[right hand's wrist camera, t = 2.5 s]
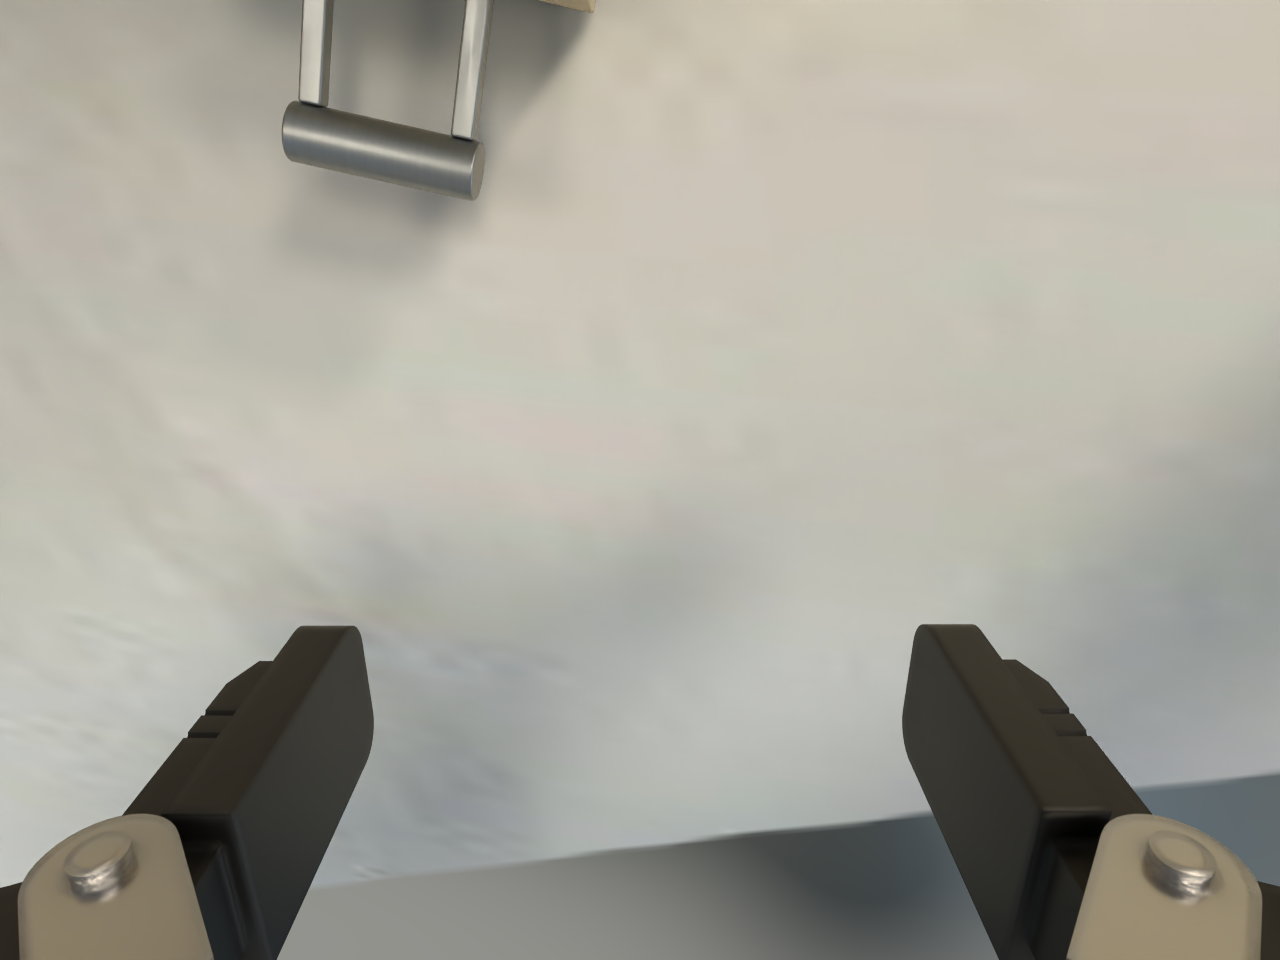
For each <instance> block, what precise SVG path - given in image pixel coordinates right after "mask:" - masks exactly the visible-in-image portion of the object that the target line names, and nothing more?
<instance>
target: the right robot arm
mask: <svg viewBox="0 0 1280 960" xmlns="http://www.w3.org/2000/svg"><path fill="white" fill-rule="evenodd" d="M902 728H903V738H904V744H905V748H906V752H907V755H908V758H909V761H910V763H911V765H912V767H913V770H914V772H915V774H916V776H917V778H918V781H919V783H920V785H921V787H922V790H923V792H924V794H925V796H926V798H927V801H928V803H929V805H930V807H931V809H932V812H933V814H934V816H935V818H936V821H937V823H938V825H939V827H940V829H941V832H942V834H943V836H944V838H945V841H946V843H947V845H948V847H949V849H950V852H951V854H952V856H953V858H954V861H955V863H956V865H957V867H958V869H959V872H960V874H961V876H962V878H963V881H964V883H965V885H966V887H967V889H968V892H969V894H970V896H971V898H972V901H973V903H974V905H975V907H976V909H977V911H978V914H979V916H980V918H981V921H982V923H983V925H984V927H985V929H986V932H987V934H988V936H989V938H990V940H991V943H992V945H993V947H994V949H995V952H996V954H997V956H998V958H999V960H1280V887H1279V886H1275V885H1271V884H1266V883H1263V882H1259V881H1256V879H1255V877H1254V876H1253V874H1252V872H1251V871H1250V870H1249V869H1248V868H1247V866H1246V865H1245V864H1244V863H1243V862H1242V861H1241V860H1240V859H1239V858H1238V857H1237V856H1236V855H1235V854H1234V853H1233V852H1232V851H1230V850H1229V849H1228V848H1226V847H1225V846H1224V845H1223V844H1221V843H1220V842H1218V841H1217V840H1215V839H1214V838H1212V837H1211V836H1209V835H1207V834H1205V833H1203V832H1201V831H1200V830H1198V829H1196V828H1193V827H1191V826H1189V825H1187V824H1184V823H1181V822H1178V821H1176V820H1173V819H1169V818H1165V817H1161V816H1156V815H1152V813H1151V812H1150V811H1149V810H1148V808H1147V807H1146V806H1145V804H1144V803H1143V802H1142V801H1141V799H1140V798H1139V797H1138V796H1137V794H1136V793H1135V792H1134V790H1133V789H1132V788H1131V787H1130V785H1129V784H1128V783H1127V782H1126V780H1125V779H1124V778H1123V776H1122V775H1121V774H1120V773H1119V771H1118V770H1117V769H1116V768H1115V766H1114V765H1113V764H1112V762H1111V761H1110V760H1109V759H1108V757H1107V756H1106V755H1105V754H1104V752H1103V751H1102V750H1101V748H1100V747H1099V746H1098V745H1097V743H1096V742H1095V741H1094V740H1093V738H1092V737H1091V736H1087V734H1086V729H1085V728H1084V727H1083V726H1082V724H1081V723H1080V722H1079V720H1078V719H1077V718H1076V717H1075V715H1074V714H1070V713H1069V708H1068V706H1067V705H1066V704H1065V703H1064V701H1063V700H1062V699H1061V698H1060V696H1059V695H1058V694H1057V692H1056V691H1055V690H1054V689H1053V687H1052V686H1051V685H1050V684H1049V682H1048V681H1046V680H1045V679H1043V678H1042V677H1040V676H1039V675H1037V674H1036V673H1035V672H1033V671H1032V670H1030V669H1029V668H1027V667H1026V666H1024V665H1023V664H1022V663H1020V662H1019V661H1017V660H1002V659H1001V657H1000V656H999V655H998V653H997V652H996V650H995V649H994V648H993V646H992V645H991V644H990V642H989V641H988V639H987V638H986V637H985V635H984V634H983V633H982V631H981V630H980V629H979V628H978V627H977V626H976V625H973V624H923V625H920V626H919V627H918V628H917V630H916V633H915V636H914V641H913V648H912V654H911V661H910V667H909V674H908V681H907V687H906V694H905V701H904V707H903V716H902ZM373 730H374V717H373V709H372V702H371V696H370V689H369V683H368V676H367V670H366V663H365V657H364V650H363V643H362V638H361V635H360V632H359V630H358V629H357V627H355V626H301V627H299V628H297V630H296V631H295V632H294V633H293V635H292V636H291V637H290V639H289V640H288V641H287V643H286V644H285V645H284V647H283V648H282V649H281V651H280V652H279V654H278V655H277V656H276V658H275V659H274V660H273V661H259V662H257V663H256V664H255V665H253V666H252V667H250V668H249V669H247V670H246V671H244V672H243V673H241V674H240V675H239V676H237V677H236V678H234V679H233V680H231V681H230V682H228V683H227V684H226V685H225V686H224V688H223V689H222V690H221V691H220V693H219V694H218V695H217V696H216V698H215V699H214V700H213V702H212V703H211V704H210V705H209V707H208V708H207V709H206V713H205V716H201V717H200V718H199V719H198V720H197V722H196V723H195V724H194V725H193V727H192V728H191V729H190V731H189V732H188V737H187V738H183V739H182V741H181V742H180V743H179V744H178V746H177V747H176V748H175V749H174V751H173V752H172V753H171V755H170V756H169V757H168V758H167V760H166V761H165V762H164V763H163V765H162V766H161V767H160V768H159V770H158V771H157V772H156V773H155V775H154V776H153V777H152V778H151V780H150V781H149V782H148V784H147V785H146V786H145V787H144V789H143V790H142V791H141V792H140V794H139V795H138V796H137V797H136V799H135V800H134V801H133V802H132V804H131V805H130V806H129V807H128V809H127V810H126V811H125V813H124V814H123V815H122V816H119V817H115V818H111V819H107V820H104V821H101V822H99V823H96V824H93V825H91V826H89V827H87V828H84V829H82V830H80V831H79V832H77V833H75V834H73V835H71V836H69V837H68V838H66V839H65V840H63V841H62V842H60V843H59V844H57V845H56V846H55V847H53V848H52V849H51V850H50V851H48V852H47V853H46V854H45V855H44V856H43V857H42V858H41V859H40V860H39V861H38V862H37V863H36V864H35V865H34V866H33V868H32V869H31V870H30V871H29V872H28V874H27V876H26V877H25V879H24V881H23V882H21V883H17V884H14V885H10V886H6V887H2V888H0V960H277V957H278V955H279V953H280V951H281V949H282V946H283V944H284V942H285V940H286V938H287V935H288V933H289V931H290V929H291V927H292V924H293V922H294V920H295V918H296V916H297V913H298V911H299V909H300V907H301V905H302V903H303V900H304V898H305V896H306V894H307V892H308V889H309V887H310V885H311V883H312V881H313V878H314V876H315V874H316V872H317V870H318V867H319V865H320V863H321V861H322V859H323V856H324V854H325V852H326V850H327V848H328V846H329V843H330V841H331V839H332V837H333V835H334V832H335V830H336V828H337V826H338V824H339V821H340V819H341V817H342V815H343V813H344V810H345V808H346V806H347V804H348V802H349V799H350V797H351V795H352V793H353V791H354V788H355V786H356V784H357V782H358V780H359V778H360V775H361V773H362V771H363V769H364V767H365V764H366V762H367V760H368V757H369V754H370V750H371V746H372V740H373Z"/></svg>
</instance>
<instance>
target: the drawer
mask: <svg viewBox="0 0 1280 960" xmlns="http://www.w3.org/2000/svg"><path fill="white" fill-rule="evenodd" d="M539 1H543V2H547V3H552V4H556V5H560V6H564V7H568V8H572V9H577V10H581V11H585V12H589V13H593V11H594V5H595V0H539ZM493 2H494V0H466V1H465V10H464V19H463V28H462V37H461V46H460V56H459V65H458V74H457V83H456V92H455V101H454V110H453V120H452V129H451V135H452V136H450V135H446V134H441V133H437V132H432V131H428V130H424V129H419V128H415V127H410V126H406V125H401V124H397V123H392V122H388V121H384V120H379V119H375V118H370V117H366V116H361V115H357V114H352V113H348V112H344V111H339V110H335V109H330V108H326V107H327V106H328V97H329V79H330V60H331V42H332V24H333V5H334V0H303V4H302V28H301V52H300V76H299V101H300V102H299V101H293V102H291V103H290V104H289V105H288V107H287V109H286V111H285V114H284V118H283V124H282V143H283V148H284V151H285V154H286V156H287V157H288V159H289V160H291V161H293V162H298V163H302V164H307V165H311V166H316V167H320V168H325V169H329V170H334V171H339V172H343V173H348V174H352V175H357V176H361V177H366V178H370V179H375V180H380V181H384V182H389V183H393V184H398V185H402V186H407V187H411V188H416V189H421V190H425V191H430V192H434V193H439V194H443V195H448V196H452V197H457V198H462V199H466V200H471V201H475V200H476V198H477V197H478V194H479V191H480V188H481V184H482V179H483V172H484V159H485V154H484V147H483V144H482V143H481V142H477V141H474V140H476V139H477V134H478V125H479V117H480V109H481V101H482V92H483V84H484V76H485V68H486V59H487V51H488V43H489V35H490V26H491V18H492V10H493ZM472 140H473V141H472Z"/></svg>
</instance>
